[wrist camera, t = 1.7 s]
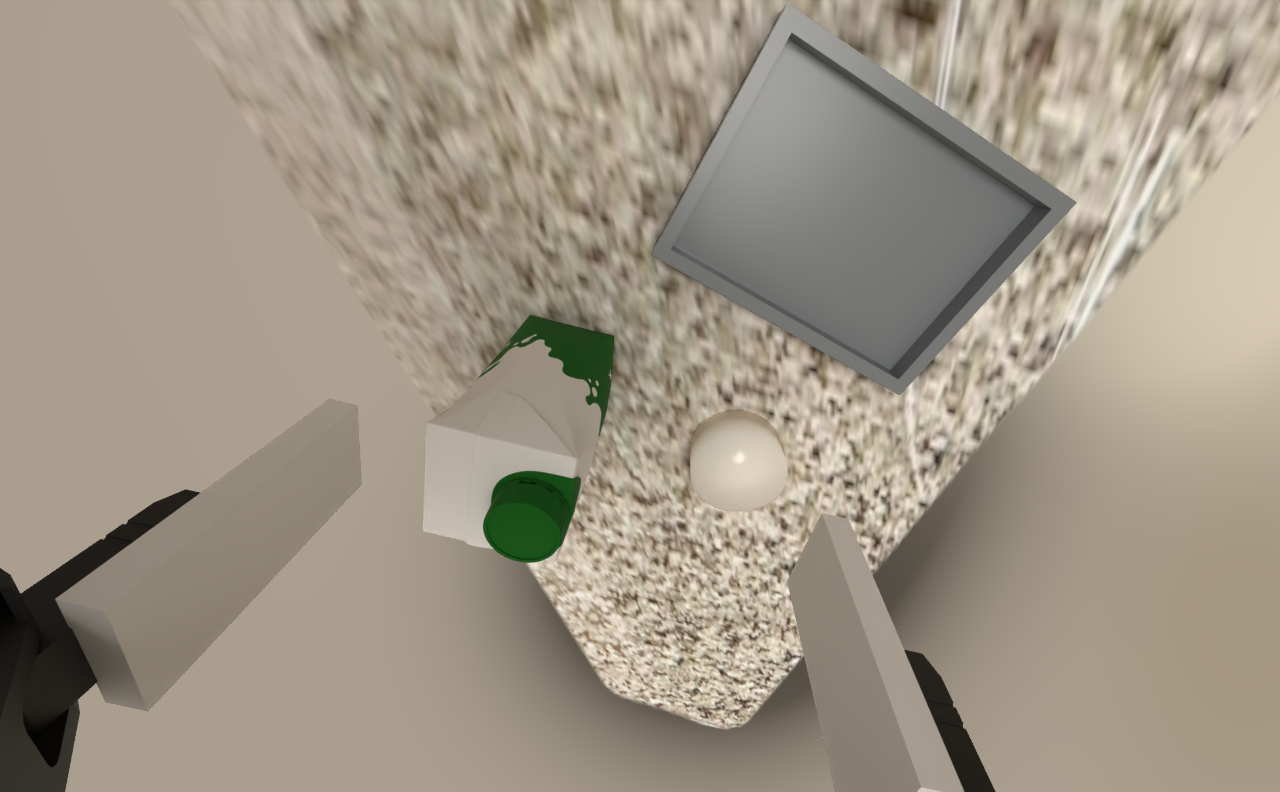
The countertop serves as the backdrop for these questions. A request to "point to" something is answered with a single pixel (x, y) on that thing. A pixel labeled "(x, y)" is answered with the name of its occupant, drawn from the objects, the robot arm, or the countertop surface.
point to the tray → (853, 208)
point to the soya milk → (520, 443)
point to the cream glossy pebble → (737, 461)
